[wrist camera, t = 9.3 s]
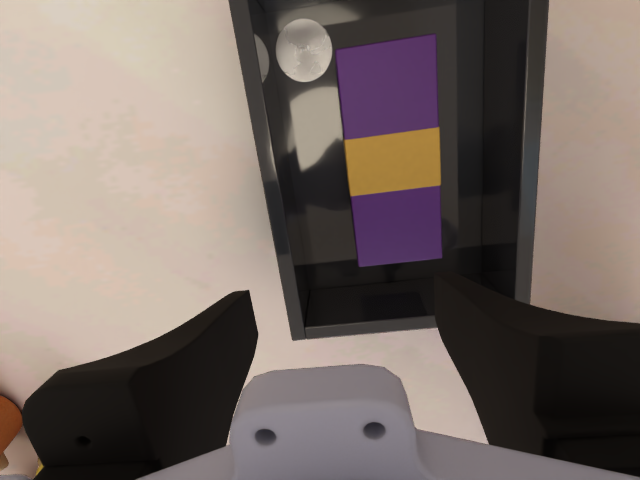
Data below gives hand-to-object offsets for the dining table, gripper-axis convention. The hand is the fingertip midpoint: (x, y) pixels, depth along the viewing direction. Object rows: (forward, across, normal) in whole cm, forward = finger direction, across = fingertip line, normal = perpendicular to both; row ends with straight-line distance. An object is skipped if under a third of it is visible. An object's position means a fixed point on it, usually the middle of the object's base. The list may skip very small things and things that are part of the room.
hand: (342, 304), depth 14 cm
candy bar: (+9, -3, -4) cm, 10 cm away
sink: (+10, -3, -4) cm, 11 cm away
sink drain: (+9, +1, -10) cm, 14 cm away
